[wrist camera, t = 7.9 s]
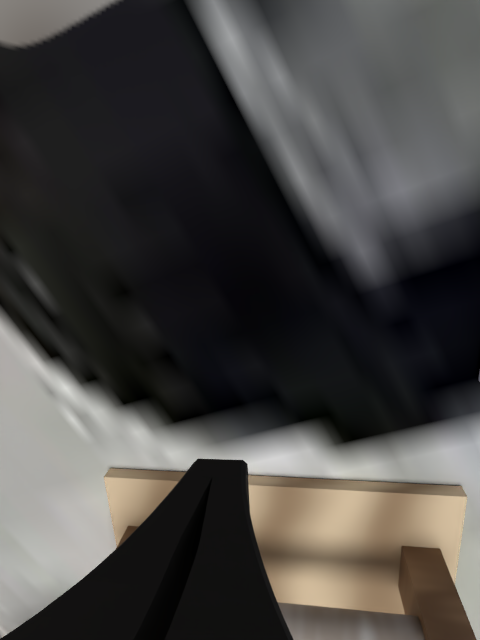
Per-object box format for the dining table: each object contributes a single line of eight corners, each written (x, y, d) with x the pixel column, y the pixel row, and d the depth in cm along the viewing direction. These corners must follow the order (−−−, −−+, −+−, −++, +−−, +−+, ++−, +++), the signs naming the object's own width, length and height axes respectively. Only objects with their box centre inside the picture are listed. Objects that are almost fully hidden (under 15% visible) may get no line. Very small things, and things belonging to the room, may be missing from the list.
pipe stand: (461, 486, 21) (519, 590, 16) (442, 621, 24) (485, 750, 19) (109, 468, 24) (53, 550, 19) (131, 591, 27) (88, 693, 22)
